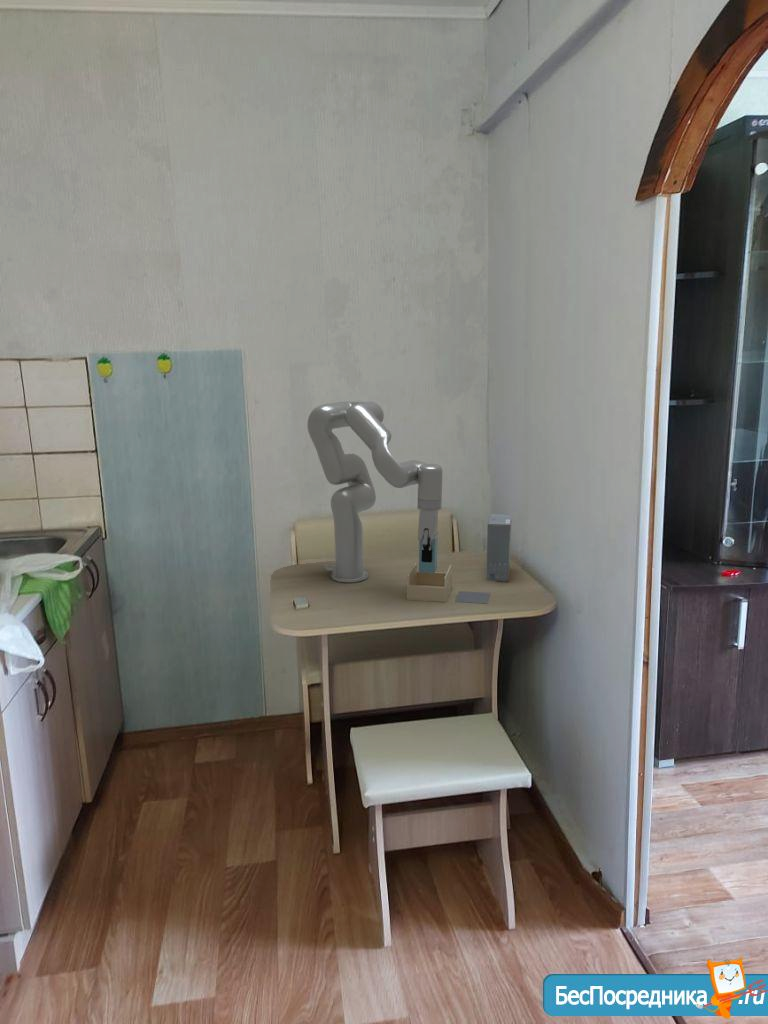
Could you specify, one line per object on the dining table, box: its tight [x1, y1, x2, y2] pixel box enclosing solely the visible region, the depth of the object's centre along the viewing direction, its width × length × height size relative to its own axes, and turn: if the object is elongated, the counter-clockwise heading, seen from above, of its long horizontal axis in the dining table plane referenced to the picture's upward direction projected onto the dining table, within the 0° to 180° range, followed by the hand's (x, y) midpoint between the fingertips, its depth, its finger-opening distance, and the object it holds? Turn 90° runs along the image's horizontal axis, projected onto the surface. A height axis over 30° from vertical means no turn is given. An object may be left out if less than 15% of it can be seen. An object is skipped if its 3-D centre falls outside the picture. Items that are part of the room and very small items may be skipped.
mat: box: [454, 590, 491, 605], centre depth 238 cm, size 10×10×1 cm
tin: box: [418, 531, 439, 574], centre depth 240 cm, size 5×5×12 cm
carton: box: [406, 562, 453, 603], centre depth 242 cm, size 12×15×8 cm
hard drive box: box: [485, 513, 513, 582], centre depth 259 cm, size 16×8×20 cm, turn 168°
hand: (428, 558), depth 240 cm, fingers closed on tin, 5 cm apart
